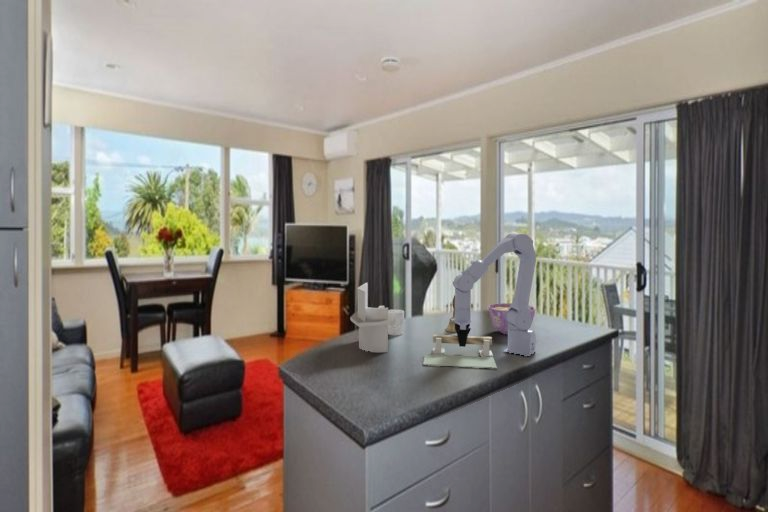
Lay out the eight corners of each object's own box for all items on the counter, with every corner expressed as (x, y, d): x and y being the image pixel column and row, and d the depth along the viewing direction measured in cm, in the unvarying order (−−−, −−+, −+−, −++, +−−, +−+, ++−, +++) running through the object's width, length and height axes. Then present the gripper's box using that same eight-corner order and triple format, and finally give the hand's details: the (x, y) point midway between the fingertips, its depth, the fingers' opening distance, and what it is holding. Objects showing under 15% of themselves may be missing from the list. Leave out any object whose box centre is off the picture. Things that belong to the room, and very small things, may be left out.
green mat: (493, 359, 146) (493, 357, 146) (496, 369, 136) (496, 367, 135) (424, 355, 150) (424, 354, 150) (423, 365, 139) (423, 363, 139)
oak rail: (491, 343, 152) (491, 336, 152) (491, 345, 150) (492, 338, 149) (433, 340, 155) (433, 334, 155) (433, 342, 153) (433, 336, 153)
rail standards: (491, 352, 154) (491, 336, 154) (492, 357, 148) (493, 341, 148) (433, 350, 157) (433, 334, 157) (432, 354, 151) (432, 338, 151)
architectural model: (408, 353, 153) (409, 290, 152) (353, 359, 146) (352, 293, 145) (384, 335, 180) (384, 281, 178) (336, 339, 173) (335, 283, 171)
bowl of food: (486, 337, 177) (486, 310, 176) (488, 326, 196) (489, 302, 195) (536, 340, 171) (537, 312, 170) (534, 329, 190) (534, 304, 189)
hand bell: (462, 328, 192) (463, 294, 191) (464, 332, 184) (465, 297, 183) (444, 328, 193) (445, 293, 192) (445, 332, 185) (446, 296, 184)
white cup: (383, 332, 184) (383, 310, 183) (399, 330, 187) (399, 308, 187) (391, 336, 177) (391, 313, 176) (407, 334, 180) (407, 312, 180)
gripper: (451, 304, 159) (451, 339, 160) (451, 311, 145) (451, 349, 146) (470, 304, 158) (469, 339, 159) (472, 311, 144) (471, 350, 145)
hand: (462, 344), depth 152 cm, fingers open, 4 cm apart
